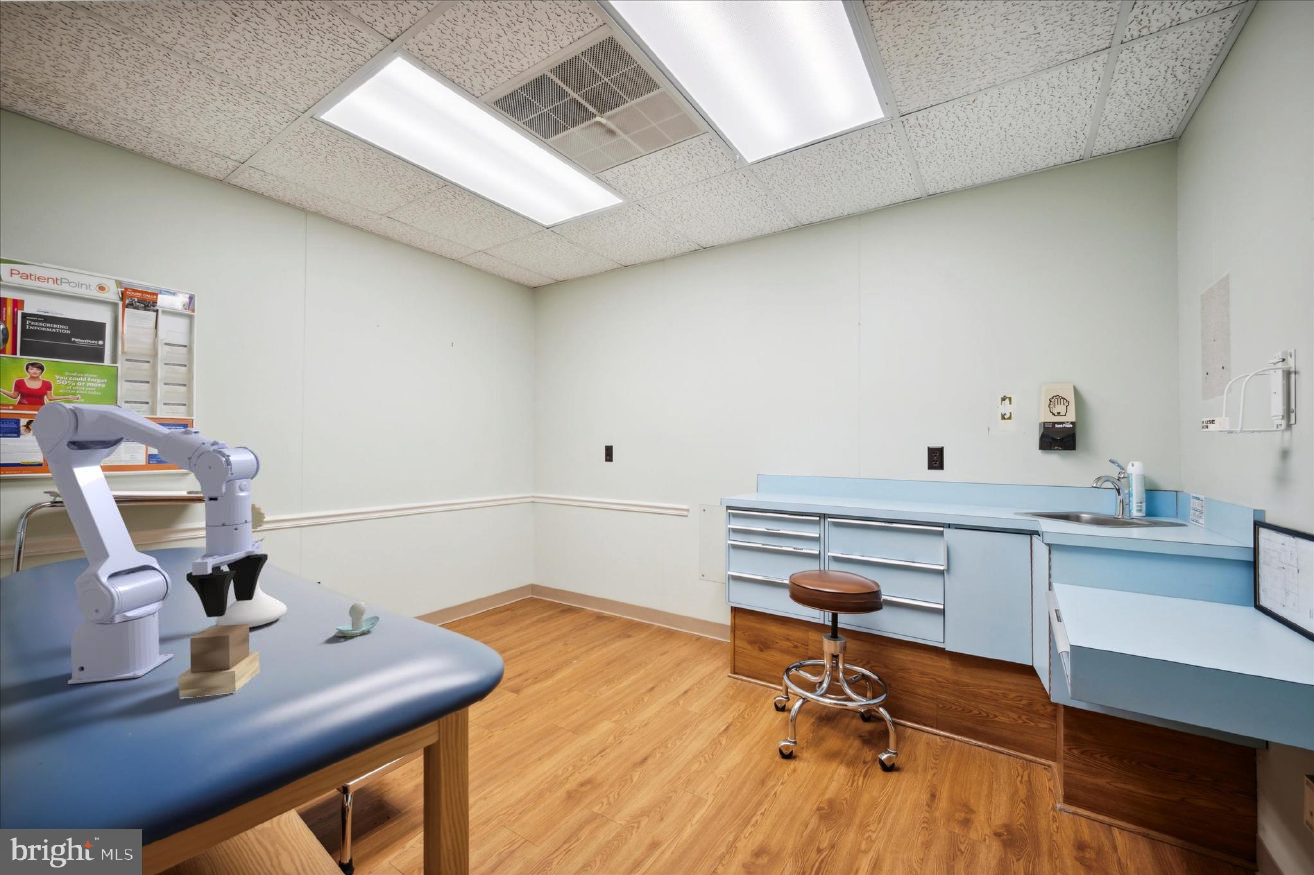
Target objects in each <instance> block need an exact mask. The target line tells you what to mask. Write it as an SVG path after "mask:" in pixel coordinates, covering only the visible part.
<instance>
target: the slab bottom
mask: <svg viewBox="0 0 1314 875" xmlns="http://www.w3.org/2000/svg"><path fill="white" fill-rule="evenodd" d="M259 672H260V673H261V663H259V664H258V665H257V666H256V667H255V668H254V669H252V670H251V671H250V672H249V673H248V674H247V675H246V676H244V677H243V678H242V679H241V680H240V681H239V682H237V683H236V684H233V685H224V686H216V687H207V688H199V689H190V690H181V691H179V690H178V694H179V696H178V697H179V698H182V697H197V696H198V697H199V696H205V695H216V694H221V693H230V692H237V690H239V688H241V687H242V686H243V685H244V684H245V683H247V682H248V681H249V680H250V679H251V678H252V677H254V676H255V675H256V674H258V673H259ZM260 673H259V674H260ZM259 674H258V675H259ZM256 676H257V675H256ZM256 676H255V677H256ZM255 677H254V678H255ZM248 683H249V682H248ZM248 683H247V684H248ZM239 691H240V690H239ZM237 693H238V692H237Z"/></svg>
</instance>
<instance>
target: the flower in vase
mask: <svg viewBox="0 0 1314 875" xmlns="http://www.w3.org/2000/svg"><path fill="white" fill-rule="evenodd" d="M251 514H252V530H258V528H262V527H264V524H263V523H265V519H266V516H265V512H263V511H262V508H261V507H260V506H257V504H255V503H251ZM265 538H266V536H264V537H263V538H261V539H259V540H258V541H261V542H262V541H263V540H265ZM257 554H267V553H266V552H260V553H257ZM267 555H268V554H267ZM259 578H260V576H259V577H258V581H257V585H256V589H255V593H254V596H253V599H252V600H247V601H237V600H236V599H235V601H234V602H232V603H231V604H230V605H229V606H227V608H226V612H225V615H223V616H220V617H216V621H215V624H216V626H224V625H238V624H249V628H253V627H254V628H255V627H259V626H263V625H266V624H269V623H271V622H274V621H276V620H278V619H280V618H281V617H283V616H284V615H285V614H286V613H287V611H288V607H287V606H286V604H285V603H283V602H282V601H280V600H278V599H277V598H275V597H272V596H270V595H268V594H266V593H265V592H264V591H263V590H261V588H260V581H259V580H260V579H259Z"/></svg>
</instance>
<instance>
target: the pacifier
mask: <svg viewBox="0 0 1314 875" xmlns="http://www.w3.org/2000/svg"><path fill="white" fill-rule="evenodd" d="M366 612H367V604H366V603H365V602H363V601H357V602H355V603H353V604H352V605H351V606H350V607H349V610H348V616H349V617H350V618H351V623H350V624H345V625H340V626H338V625H337V626H336V627H335V629H336V630H337V631H335V633H334V635H335V636H336V637H347V636H354V637H356V636H355V635H358V634H362V633H364V632H366V633H368V632H369V630H371V629H373V628H374V627H376V626H377V625H378V623H379V621H380V617H379V616H378V615H374V616H370V617H367V618H365V614H366ZM367 631H368V632H367ZM364 634H365V633H364ZM362 635H363V634H362ZM358 636H359V635H358Z"/></svg>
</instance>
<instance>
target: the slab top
mask: <svg viewBox="0 0 1314 875" xmlns="http://www.w3.org/2000/svg"><path fill="white" fill-rule="evenodd" d="M258 664H260V652H259V651H249V656H248V657H247V658H245V659H244V660H242V661H241V662H239V663H238V664H236V665H235V666H234V667H232V668H231V669H227V670H215V671H203V672H191V667H190V668H189V669H188V670H186V671H185V672H183V673H182V674H180V675H179V676H178V677H177V680H178V681H177V682H178V686H177V687H178V688H177V689H178V692H179V691H181V690H190V689H199V688H207V687H216V686H224V685H233V684H236V683H237V682H239V681H240V680H241V679H242V678H243V677H244V676H246V675H247V674H248V673H249V672H250V671H251V670H252V669H254V668H255V667H256V666H257V665H258Z"/></svg>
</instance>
